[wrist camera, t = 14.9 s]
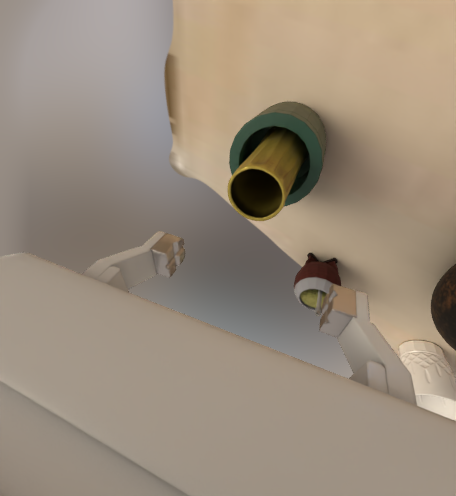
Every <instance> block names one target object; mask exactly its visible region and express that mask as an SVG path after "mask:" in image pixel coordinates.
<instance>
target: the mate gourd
mask: <svg viewBox="0 0 456 496" xmlns="http://www.w3.org/2000/svg"><path fill="white" fill-rule="evenodd" d="M307 256H308V260H307V261H306V263H305V265H304V266H303V267H302V268H301V270H300V271H299V272H298V273H297V275H296V278H295V282H294V291H295V294H296V297H297V299H298V300H299V302H300V303H301V304H302V305H303V306H305V307H306V308H308V309H311V310H314V311H315V313H316V316H320V315H321V309H322V304H323V301H324V298H325V296H326V294H328V293H329V288H330V287H331V285H332V284H336V285H339V286H341V280H340V276H339V273H338V268H337V266H336V263H337V259H336V258H333V259H330V260H327V261H325V262H319V261H318V260H317V259H316V257H315V256H314V255H313V254H312V253H309V254H308V255H307Z"/></svg>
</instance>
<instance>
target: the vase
mask: <svg viewBox="0 0 456 496" xmlns="http://www.w3.org/2000/svg"><path fill="white" fill-rule="evenodd" d="M308 153H309V152H308V149H307V147H306V144H305V142H304V141H303V140H302V139H301V138H300V137H299V136H298V134H296V133H294V132H293V131H291V130H289V129H287V128H284V127H278V126H274V127H272V128H271V129H270V130H269V131H268V132H267V134H266V136H265V137H264V138H263V140H262V141H261V142H260V144H259V145H258V147H257V148H256V149H255V151H254V152H253V153H252V154H251V155H250V156H249V157H248V158H247V159H246V160H245V161H244V162H243V163H242V164H241V165H240V166H239V168H238V169H237V170H236V171H235V173H234V174H233V175H232V177H231V178H230V180H229V183H228V197H229V200H230V202H231V204H232V206H233V207H234V209H235V210H236V211H237V212H238V213H239V214H241V215H242V216H243V217H245V218H247V219H250V220H255V221H265V220H268V219H271V218H273V217H274V216H276V215H277V214H278V213H279V212H280V211H281V209H282V208H283V206H284V205H285V201H286V199H287V196H288V194H289V192H290V190H291V187H292V185H293V183H294V181H295V179H296V176H297V174H298V172H299V170H300V168H301V165H302V164H303V163H304V161H305V160H306V158H307V156H308Z"/></svg>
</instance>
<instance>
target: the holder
mask: <svg viewBox="0 0 456 496" xmlns="http://www.w3.org/2000/svg"><path fill="white" fill-rule="evenodd" d="M274 126H278V127H284V128H287V129H289V130H291V131H293V132H294V133H296V134H298V136H299V137H300V138H301V139H302V140H303V141H304V142H305V144H306V147H307V149H308V152H309V153H308V156H307V158H306V160H305V161H304V163H303V164H302V165H301V168H300V170H299V172H298V174H297V176H296V179H295V181H294V183H293V185H292V187H291V190H290V192H289V194H288V196H287V199H286V201H285V205H284V206H288V205H290V204H293V203H296V202H298V201H299V200H301V199H302V198H304V197H305V196H306V195H308V193H310V191H311V190H312V189H313V187H314V186H315V185H316V183H317V181H318V179H319V176H320V173H321V170H322V166H323V161H324V156H325V151H326V133H325V129H324V125H323V123H322V121H321V119H320V118H319V116H318V115H317V114H316V113H315V112H314V111H313V110H312V109H310V108H309V107H307V106H305V105H303V104H300V103H296V102H282V103H278V104H276V105H273V106H271V107H269V108H268V109H266V110H265V111H263V112H262V113H260V114H259V115H257V116H256V117H254V118H253V119H252V120H250V121H249V122H247V123H246V124H245V125H244V126H243V127H242V128H241V130H240V131H239V132H238V133H237V135H236V136H235V138H234V141H233V144H232V146H231V149H230V162H229V164H230V169H231V173H232V175H233V174H234V173H235V171H236V170H237V169H238V168H239V166H240V165H241V164H242V163H243V162H244V161H245V160H246V159H247V158H248V157H249V156H250V155H251V154H252V153H253V152H254V151H255V149H256V148H257V147H258V145H259V144H260V142H261V141H262V140H263V138H264V137H265V136H266V134H267V132H268V131H269V130H270V129H271V128H272V127H274ZM284 206H283V207H284Z"/></svg>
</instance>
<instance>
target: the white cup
mask: <svg viewBox="0 0 456 496" xmlns="http://www.w3.org/2000/svg"><path fill="white" fill-rule="evenodd" d="M398 352H399V359H400V360H401V361H402V363H403V364H404V365H405V367H406V368H407V369H408V371H409V372H410V373H411V376H412V381H413V386H414V391H415V396H416V401H417V406H419V407H421V408H424V409H426V410H429V411H431V412H434V413H437V414H439V415H442V416H444V417H447V418H449V419H452V420H456V379H455V377H454V374H453V372H452V370H451V367H450V365H449V364H448V362H447V360H446V357H445V354H444V352H443V351H442V349H441V348H440V347H439V346H437V345H435V344H434V343H431V342H427V341H420V340H412V341H407V342H404V343H402V344H401V345H400V346H399V349H398Z"/></svg>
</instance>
